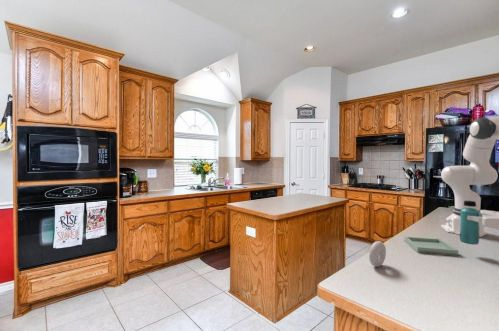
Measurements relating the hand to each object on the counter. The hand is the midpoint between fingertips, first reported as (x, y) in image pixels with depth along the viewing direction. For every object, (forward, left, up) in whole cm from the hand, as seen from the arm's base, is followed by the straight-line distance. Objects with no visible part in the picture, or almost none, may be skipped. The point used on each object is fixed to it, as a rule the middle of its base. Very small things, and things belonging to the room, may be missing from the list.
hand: (467, 215), depth 111 cm
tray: (-5, -12, -18) cm, 22 cm away
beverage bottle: (0, +1, -13) cm, 13 cm away
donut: (+23, -42, -18) cm, 51 cm away
